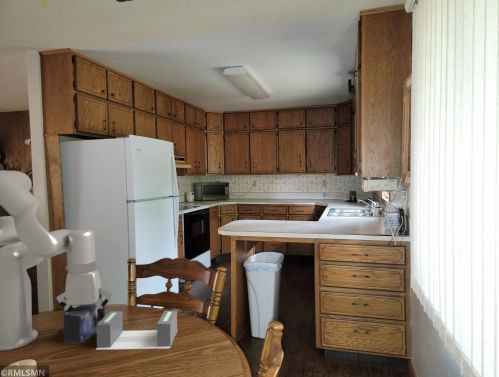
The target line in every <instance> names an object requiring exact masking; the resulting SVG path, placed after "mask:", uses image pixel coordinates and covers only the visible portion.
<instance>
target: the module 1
mask: <svg viewBox="0 0 499 377" xmlns="http://www.w3.org/2000/svg"><path fill="white" fill-rule="evenodd" d="M123 319H124V318H123V310H121V311H119V310H117V311H114V310H113V311H109V312H108V313H107V314H105V316H104V318H103V319H102V320H101V321H100V322H99V323H98V324H97V333H96V348H111V346H112V345H113V344H114V342H115V341H116V340H117V339H118V337H119V336H120V335H121V334H122V332H123V331H124V328H123V326H124V324H123V323H124V322H123Z"/></svg>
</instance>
